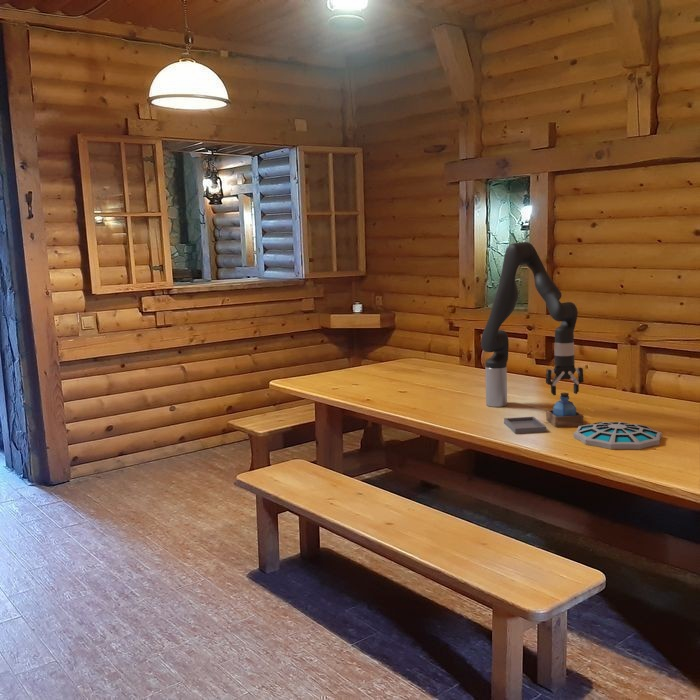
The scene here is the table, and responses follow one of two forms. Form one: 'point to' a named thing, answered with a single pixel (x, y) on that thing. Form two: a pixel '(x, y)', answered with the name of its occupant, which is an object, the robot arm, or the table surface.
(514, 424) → the tray
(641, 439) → the decorative platform
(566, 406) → the perfume bottle
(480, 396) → the table surface
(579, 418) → the holder
